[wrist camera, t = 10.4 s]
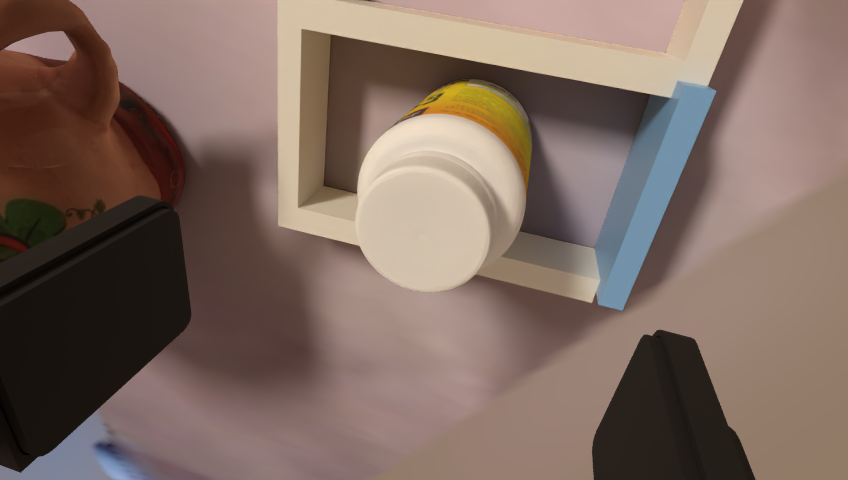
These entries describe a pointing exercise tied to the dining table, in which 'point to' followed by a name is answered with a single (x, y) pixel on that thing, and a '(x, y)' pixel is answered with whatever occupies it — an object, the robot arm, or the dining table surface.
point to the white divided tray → (525, 50)
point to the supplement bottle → (445, 187)
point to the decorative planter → (71, 131)
